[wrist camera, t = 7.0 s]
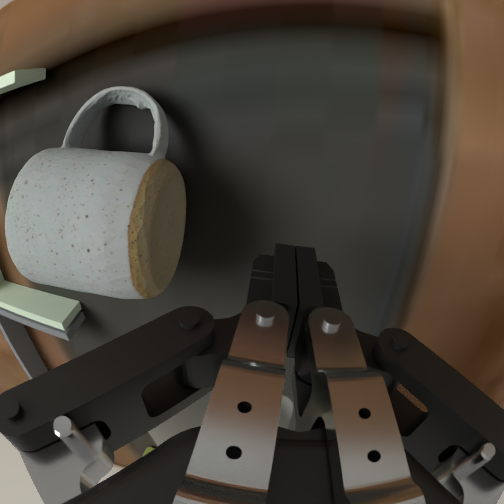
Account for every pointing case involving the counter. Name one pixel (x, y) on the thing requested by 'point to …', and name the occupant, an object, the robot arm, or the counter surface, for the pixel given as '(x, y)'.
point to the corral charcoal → (22, 343)
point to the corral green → (17, 296)
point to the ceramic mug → (99, 211)
